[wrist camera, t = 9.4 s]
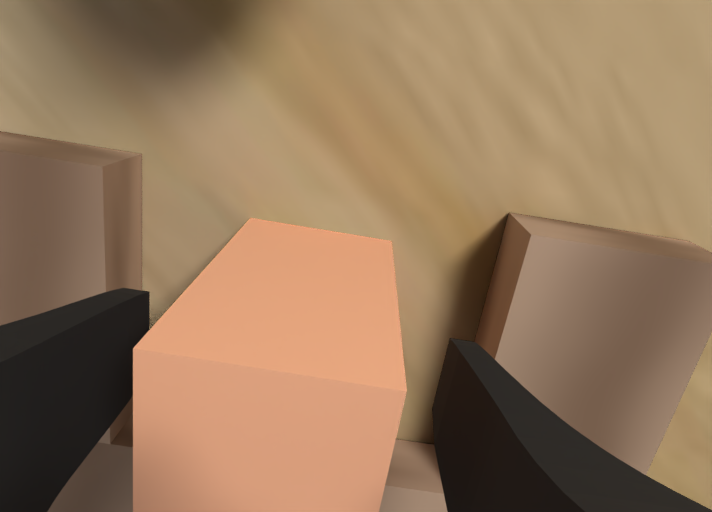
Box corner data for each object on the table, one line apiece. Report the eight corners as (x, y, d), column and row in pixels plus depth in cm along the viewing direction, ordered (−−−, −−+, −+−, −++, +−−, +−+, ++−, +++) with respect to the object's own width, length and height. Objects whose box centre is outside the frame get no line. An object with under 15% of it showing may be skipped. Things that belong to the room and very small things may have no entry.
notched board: (-1, 473, 17) (-47, 522, 15) (-46, 123, 13) (-117, 131, 11) (559, 556, 17) (581, 613, 16) (689, 240, 13) (741, 267, 11)
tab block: (239, 342, 15) (133, 549, 8) (250, 217, 14) (132, 348, 7) (367, 362, 15) (362, 582, 8) (391, 241, 14) (406, 391, 7)
